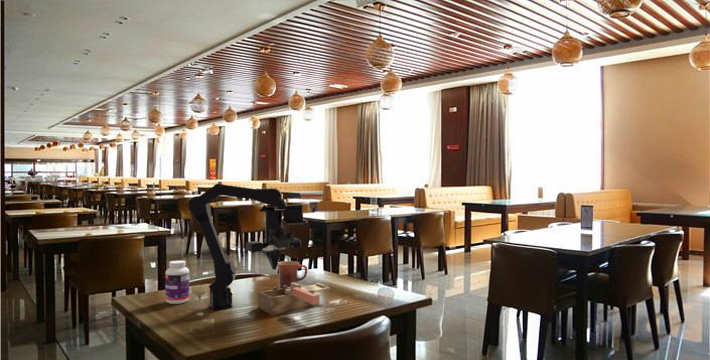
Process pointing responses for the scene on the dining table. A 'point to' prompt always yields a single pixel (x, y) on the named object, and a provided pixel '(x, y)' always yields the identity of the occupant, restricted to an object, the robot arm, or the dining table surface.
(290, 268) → the mug
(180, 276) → the pill bottle
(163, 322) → the dining table surface
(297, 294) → the salmon pink rectangular bar
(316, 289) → the sliding box lid
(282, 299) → the toolbox
